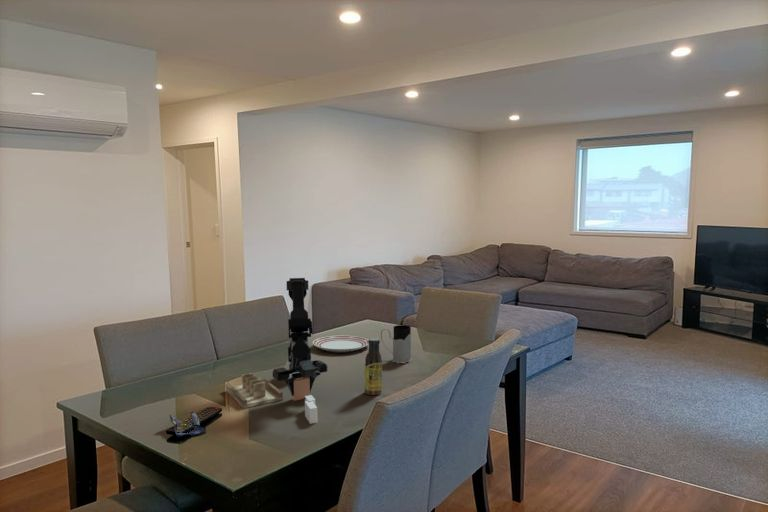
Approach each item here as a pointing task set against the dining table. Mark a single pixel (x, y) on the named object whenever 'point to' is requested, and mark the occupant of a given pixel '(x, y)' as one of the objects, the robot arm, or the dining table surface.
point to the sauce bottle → (373, 368)
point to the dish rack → (254, 391)
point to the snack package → (195, 422)
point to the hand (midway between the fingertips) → (300, 393)
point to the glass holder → (401, 343)
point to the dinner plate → (340, 343)
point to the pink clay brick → (301, 388)
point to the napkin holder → (310, 409)
